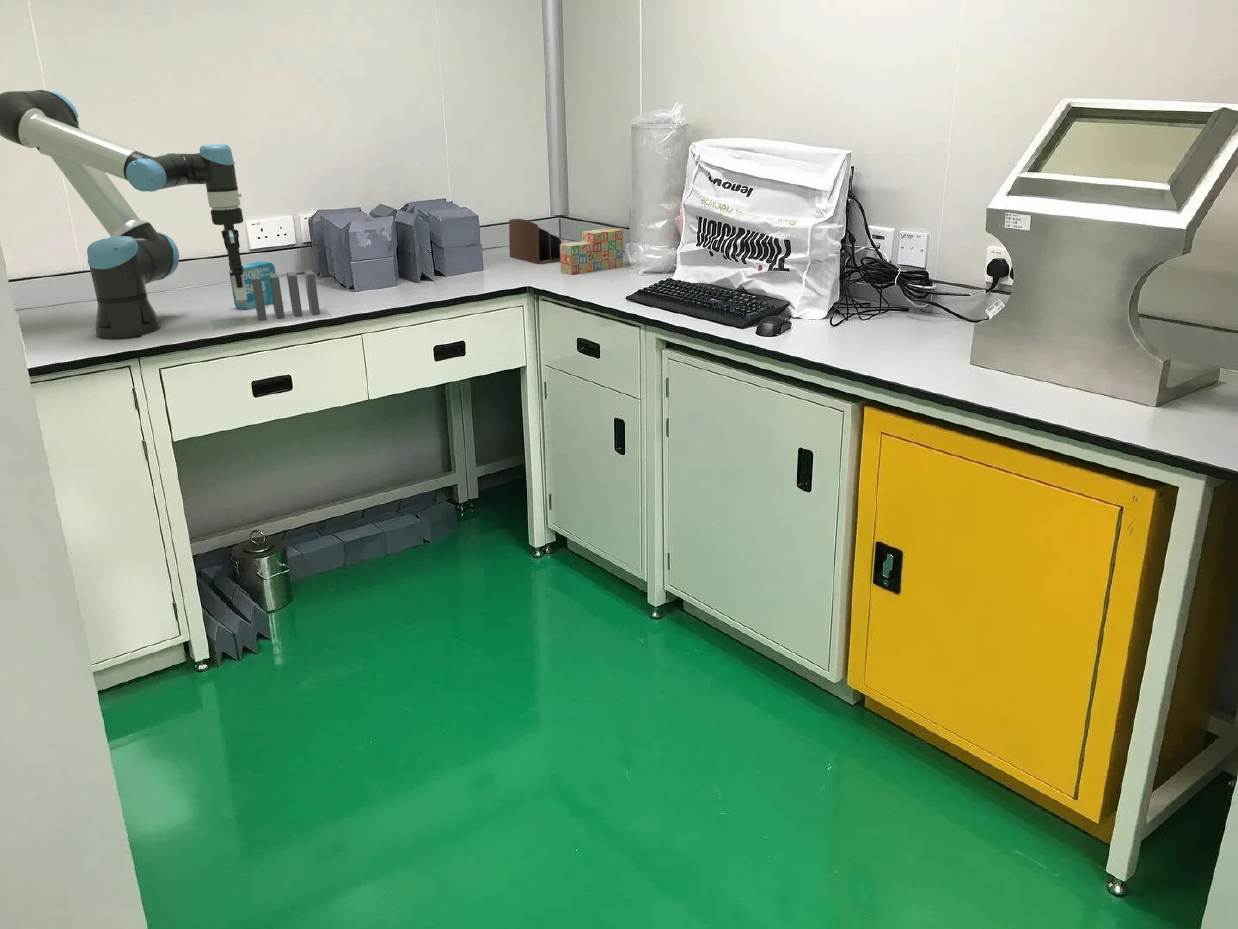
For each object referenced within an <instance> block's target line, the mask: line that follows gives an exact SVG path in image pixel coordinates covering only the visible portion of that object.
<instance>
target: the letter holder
mask: <svg viewBox="0 0 1238 929" xmlns="http://www.w3.org/2000/svg"><path fill="white" fill-rule="evenodd" d="M508 225H509V226H508V227H509V229H508V232H509V234H508V236H509V237H508V239H509V257H510V258H513V259H515V260H516V259H517V260H520V261H523V262H527V263H532V264H536V265H538V264H539V265H545V264H552V263H553V264H554V263H560V244H563V243H562V242H563V241H562V239H561V238H560V237H559V236H557V235H554V234H552V233H550V232H549V231H547V230H545V229H543V228H540V227H539V225H538V224H537V223H535V222H532V221H530V220H527V219H523V218H511V219H509V220H508Z"/></svg>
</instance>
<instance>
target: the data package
mask: <svg viewBox="0 0 1238 929" xmlns="http://www.w3.org/2000/svg"><path fill="white" fill-rule="evenodd" d="M242 266H243V269H242V270H243V276H244V282H245V288H246V294H247V300H246V302H243V303H238V300H236V296H235V294H234V288H233V283H232V277H231V276H230V275H229V278H230V284H231V290H232V297H233V303H234V306H235V308H236V309H238V310H239V309H241V310H244V311H245V310H246V311H249V310H252V309H256V306H255V299H254V293H253V287H252V280H251V276H254V275H259V277H260V279H261V285H262V291H263V298H264V304H265V306H269V305H270V306H271V305H273V299H272V292H271V286H270V279H269V274H276V273H277V272H276V268H275V265H274V264H273V263H272V262H270V261H262V260H261V261H260V260H259V261H255V262H250V263H244V264H242ZM231 271H232V270H231V269H230V268H229V272H228V273H229V274H230V273H231Z"/></svg>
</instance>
